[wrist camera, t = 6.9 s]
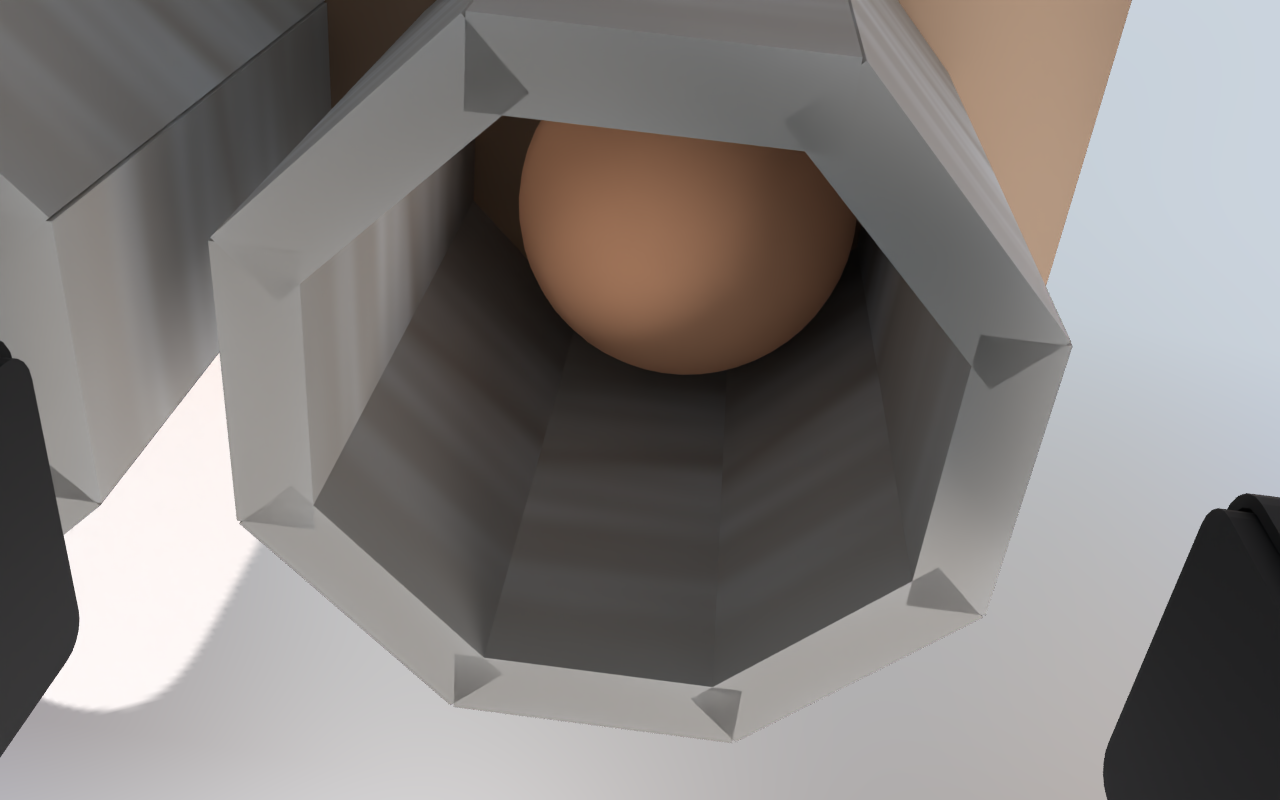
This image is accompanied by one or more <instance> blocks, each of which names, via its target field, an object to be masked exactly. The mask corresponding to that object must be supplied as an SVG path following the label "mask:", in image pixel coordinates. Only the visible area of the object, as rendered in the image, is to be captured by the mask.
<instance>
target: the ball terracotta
mask: <svg viewBox="0 0 1280 800" xmlns="http://www.w3.org/2000/svg"><path fill="white" fill-rule="evenodd" d="M856 219H857V218H856V217H855V215H854V214H853V213H852V211H851V210H850V209H849V208H848V206H847V205H846V204H845V202H844V201H843V200H842V199H841V197H840V196H839V195H838V193H837V192H836V191H835V190H834V188H833V187H832V186H831V184H830V183H829V182H828V180H827V179H826V178H825V177H824V175H823V174H822V173H821V171H820V170H819V169H818V168H817V166H816V165H815V164H814V162H813V161H812V160H811V159H810V157H809V156H808V155H807V153H806V152H805V151H797V150H789V149H781V148H772V147H764V146H755V145H747V144H739V143H730V142H722V141H713V140H705V139H697V138H688V137H680V136H671V135H663V134H655V133H646V132H638V131H629V130H621V129H613V128H604V127H596V126H587V125H579V124H570V123H562V122H554V121H545V120H541V121H540V123H539V125H538V127H537V128H536V130H535V133H534V135H533V137H532V140H531V142H530V145H529V147H528V150H527V154H526V158H525V161H524V165H523V169H522V176H521V184H520V193H519V220H520V226H521V232H522V238H523V243H524V249H525V252H526V255H527V258H528V261H529V264H530V267H531V269H532V271H533V274H534V276H535V278H536V280H537V282H538V284H539V286H540V288H541V290H542V291H543V293H544V295H545V296H546V298H547V299H548V301H549V302H550V304H551V305H552V307H553V308H554V310H555V311H556V312H557V313H558V314H559V315H560V316H561V318H562V319H563V320H564V321H565V322H566V323H567V324H568V325H569V326H570V327H571V328H572V329H573V330H574V331H575V332H576V333H578V334H579V335H580V336H581V337H582V338H583V339H585V340H586V341H587V342H588V343H590V344H591V345H593V346H594V347H596V348H597V349H599V350H601V351H602V352H604V353H606V354H608V355H610V356H612V357H614V358H616V359H618V360H620V361H622V362H625V363H627V364H630V365H633V366H636V367H639V368H642V369H645V370H650V371H655V372H660V373H667V374H678V375H693V374H706V373H713V372H720V371H724V370H728V369H732V368H736V367H739V366H741V365H744V364H747V363H750V362H752V361H755V360H757V359H759V358H761V357H763V356H765V355H767V354H769V353H771V352H772V351H774V350H776V349H777V348H779V347H780V346H782V345H783V344H785V343H786V342H788V341H789V340H790V339H791V338H793V337H794V336H795V335H796V334H797V333H799V332H800V331H801V330H802V329H803V328H804V327H805V326H806V325H807V324H808V323H809V322H810V321H811V320H812V319H813V318H814V317H815V316H816V314H817V313H818V312H819V310H820V309H821V308H822V306H823V305H824V304H825V302H826V301H827V300H828V298H829V297H830V295H831V293H832V292H833V290H834V288H835V286H836V285H837V283H838V281H839V279H840V277H841V275H842V273H843V270H844V268H845V265H846V263H847V261H848V257H849V254H850V250H851V246H852V243H853V238H854V234H855V227H856Z"/></svg>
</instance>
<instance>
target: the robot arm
mask: <svg viewBox="0 0 1280 800" xmlns="http://www.w3.org/2000/svg"><path fill="white" fill-rule="evenodd" d="M78 630H79V611H78V606H77V601H76V596H75V591H74V586H73V581H72V575H71V570H70V565H69V560H68V555H67V550H66V545H65V540H64V535H63V530H62V525H61V520H60V515H59V510H58V505H57V500H56V495H55V490H54V485H53V480H52V475H51V470H50V465H49V460H48V455H47V450H46V445H45V440H44V435H43V430H42V425H41V420H40V415H39V410H38V405H37V400H36V395H35V390H34V385H33V380H32V376H31V373H30V370H29V368H28V367H27V365H26V364H25V363H24V362H23V361H21V360H19V359H15V358H12V356H11V353H10V351H9V349H8V348H7V347H6V345H5V344H4V342H2V341H0V757H1V755H2V754H3V752H4V751H5V750H6V748H7V747H8V745H9V744H10V742H11V741H12V740H13V738H14V737H15V735H16V734H17V732H18V731H19V729H20V728H21V727H22V725H23V724H24V722H25V721H26V719H27V718H28V716H29V715H30V713H31V712H32V711H33V709H34V708H35V706H36V705H37V703H38V702H39V700H40V699H41V698H42V696H43V695H44V693H45V692H46V690H47V689H48V687H49V686H50V685H51V683H52V682H53V680H54V679H55V677H56V676H57V674H58V673H59V672H60V670H61V669H62V667H63V666H64V664H65V663H66V661H67V660H68V658H69V656H70V654H71V653H72V651H73V648H74V645H75V643H76V639H77V635H78ZM1103 777H1104V787H1105V792H1106V796H1107V800H1280V498H1279V497H1272V496H1264V495H1256V494H1247V493H1246V494H1243V495H1240V496H1238V497H1237V498H1236V499H1235V500H1234V501H1233V502H1232V503H1231V504H1230V505H1229V507H1228V509H1227V510H1226V509H1219V508H1218V509H1214V510H1212V511H1211V512H1210V513H1209V514H1207V515H1206V517H1205V519H1204V521H1203V522H1202V524H1201V527H1200V529H1199V531H1198V534H1197V536H1196V539H1195V541H1194V543H1193V545H1192V548H1191V550H1190V553H1189V555H1188V557H1187V559H1186V562H1185V564H1184V567H1183V569H1182V572H1181V574H1180V576H1179V579H1178V581H1177V583H1176V586H1175V588H1174V590H1173V593H1172V595H1171V597H1170V600H1169V602H1168V604H1167V607H1166V609H1165V611H1164V614H1163V616H1162V618H1161V621H1160V623H1159V626H1158V628H1157V630H1156V633H1155V635H1154V637H1153V639H1152V642H1151V644H1150V647H1149V649H1148V651H1147V654H1146V656H1145V658H1144V661H1143V663H1142V665H1141V668H1140V670H1139V672H1138V675H1137V677H1136V679H1135V682H1134V684H1133V687H1132V689H1131V692H1130V694H1129V696H1128V698H1127V701H1126V703H1125V705H1124V708H1123V710H1122V713H1121V715H1120V718H1119V719H1118V722H1117V724H1116V727H1115V729H1114V731H1113V734H1112V736H1111V738H1110V741H1109V743H1108V746H1107V749H1106V753H1105V758H1104V768H1103Z"/></svg>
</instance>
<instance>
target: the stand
mask: <svg viewBox="0 0 1280 800" xmlns="http://www.w3.org/2000/svg"><path fill="white" fill-rule="evenodd" d="M1131 1H1132V0H0V341H2V342H4V344H5V345H6V347H7V348H8V349H9V351H10V353H11V356H12V358H15V359H19V360H21V361H23V362H24V363H25V364H26V365H27V367H28V368H29V370H30V373H31V376H32V380H33V385H34V390H35V395H36V400H37V405H38V410H39V415H40V420H41V425H42V430H43V435H44V440H45V445H46V450H47V455H48V460H49V465H50V470H51V475H52V480H53V485H54V490H55V495H56V500H57V505H58V510H59V515H60V520H61V525H62V530H63V535H64V534H65V533H67V532H68V531H69V530H70V529H71V528H73V527H74V526H75V525H76V524H78V523H79V522H80V521H81V520H83V519H84V518H85V517H86V516H88V515H89V514H90V513H91V512H93V511H94V510H95V509H96V508H98V507H99V506H100V505H101V504H102V502H103V501H104V500H105V498H106V497H107V496H108V495H109V493H110V492H111V491H112V489H113V488H114V487H115V486H116V484H117V483H118V482H119V480H120V479H121V478H122V477H123V475H124V474H125V473H126V471H127V470H128V469H129V468H130V466H131V465H132V464H133V463H134V461H135V460H136V459H137V457H138V456H139V455H140V454H141V452H142V451H143V450H144V448H145V447H146V446H147V445H148V443H149V442H150V441H151V439H152V438H153V437H154V436H155V434H156V433H157V432H158V430H159V429H160V428H161V427H162V425H163V424H164V423H165V421H166V420H167V419H168V418H169V416H170V415H171V414H172V412H173V411H174V410H175V409H176V407H177V406H178V405H179V403H180V402H181V401H182V400H183V398H184V397H185V396H186V394H187V393H188V392H189V391H190V389H191V388H192V387H193V385H194V384H195V383H196V382H197V380H198V379H199V378H200V376H201V375H202V374H203V373H204V371H205V370H206V369H207V367H208V366H209V365H210V364H211V362H212V361H213V360H214V358H215V357H216V356H217V355H218V353H219V352H220V361H221V371H222V380H223V390H224V400H225V409H226V419H227V429H228V438H229V448H230V458H231V467H232V477H233V487H234V496H235V506H236V516H237V520H238V521H241V522H240V523H239V524H240V525H242V526H243V527H244V528H245V529H246V530H247V531H249V532H250V533H251V534H252V535H253V536H254V537H256V538H257V539H258V540H259V541H260V542H261V543H263V544H264V545H265V546H266V547H267V548H269V549H270V550H271V551H272V552H273V553H274V554H275V555H276V556H278V557H279V558H280V559H281V560H282V561H284V562H285V563H286V564H287V565H288V566H289V567H291V568H292V569H293V570H294V571H295V572H296V573H297V574H299V575H300V576H301V577H302V578H303V579H304V580H306V581H307V582H308V583H309V584H310V585H311V586H313V587H314V588H315V589H316V590H317V591H318V592H320V593H321V594H322V595H323V596H324V597H325V598H326V599H328V600H329V601H330V602H331V603H332V604H333V605H335V606H336V607H337V608H338V609H339V610H340V611H342V612H343V613H344V614H345V615H346V616H347V617H349V618H350V619H351V620H352V621H353V622H354V623H356V624H357V625H358V626H359V627H360V628H361V629H363V630H364V631H365V632H366V633H367V634H368V635H369V636H371V637H372V638H373V639H374V640H375V641H376V642H378V643H379V644H380V645H381V646H382V647H383V648H385V649H386V650H387V651H388V652H389V653H390V654H392V655H393V656H394V657H395V658H396V659H397V660H399V661H400V662H401V663H402V664H404V665H405V666H406V667H407V668H408V669H409V670H410V671H411V672H413V673H414V674H415V675H416V676H417V677H418V678H419V679H421V680H422V681H423V682H424V683H425V684H426V685H428V686H429V687H430V688H431V689H432V690H433V691H435V692H436V693H437V694H438V695H439V696H440V697H441V698H443V699H444V700H445V701H446V702H447V703H448V704H450V705H452V704H453V703H454V707H459V708H465V709H473V710H481V711H489V712H497V713H504V714H511V715H519V716H527V717H535V718H543V719H550V720H558V721H565V722H573V723H581V724H588V725H596V726H604V727H611V728H620V729H627V730H634V731H642V732H650V733H658V734H666V735H674V736H680V737H688V738H696V739H704V740H711V741H719V742H727V743H732V740H734V741H735V742H737V741H739V740H741V739H743V738H745V737H747V736H749V735H751V734H753V733H755V732H757V731H759V730H761V729H763V728H765V727H767V726H769V725H771V724H773V723H775V722H777V721H779V720H781V719H782V718H785V717H787V716H789V715H791V714H793V713H795V712H797V711H799V710H801V709H803V708H805V707H807V706H809V705H811V704H813V703H815V702H817V701H819V700H820V699H822V698H825V697H826V696H829V695H831V694H833V693H834V692H837V691H839V690H840V689H842V688H844V687H846V686H848V685H850V684H852V683H854V682H856V681H858V680H860V679H862V678H864V677H866V676H868V675H870V674H872V673H874V672H876V671H878V670H880V669H882V668H884V667H886V666H888V665H890V664H892V663H894V662H896V661H898V660H900V659H902V658H904V657H906V656H908V655H910V654H912V653H914V652H916V651H918V650H920V649H922V648H924V647H926V646H928V645H930V644H932V643H934V642H936V641H938V640H940V639H942V638H944V637H946V636H948V635H950V634H952V633H954V632H956V631H958V630H960V629H962V628H964V627H966V626H968V625H969V624H972V623H973V622H976V621H978V620H980V619H982V615H986V612H987V609H988V606H989V603H990V600H991V597H992V594H993V591H994V588H995V584H996V581H997V578H998V575H999V572H1000V569H1001V566H1002V563H1003V560H1004V557H1005V554H1006V551H1007V547H1008V544H1009V541H1010V538H1011V535H1012V532H1013V529H1014V526H1015V523H1016V519H1017V516H1018V513H1019V510H1020V507H1021V504H1022V501H1023V498H1024V494H1025V492H1026V489H1027V485H1028V482H1029V479H1030V476H1031V473H1032V470H1033V467H1034V464H1035V461H1036V458H1037V454H1038V451H1039V448H1040V445H1041V442H1042V439H1043V436H1044V433H1045V430H1046V426H1047V423H1048V420H1049V417H1050V414H1051V411H1052V408H1053V405H1054V402H1055V399H1056V395H1057V392H1058V389H1059V386H1060V383H1061V380H1062V377H1063V374H1064V371H1065V368H1066V365H1067V361H1068V358H1069V355H1070V352H1071V349H1072V344H1071V341H1070V338H1069V336H1068V334H1067V332H1066V330H1065V328H1064V325H1063V323H1062V321H1061V319H1060V317H1059V314H1058V312H1057V310H1056V308H1055V306H1054V304H1053V301H1052V299H1051V297H1050V295H1049V293H1048V290H1047V288H1046V284H1047V280H1048V277H1049V274H1050V271H1051V268H1052V264H1053V261H1054V257H1055V254H1056V251H1057V248H1058V244H1059V241H1060V238H1061V234H1062V231H1063V228H1064V224H1065V221H1066V218H1067V214H1068V211H1069V207H1070V204H1071V201H1072V198H1073V194H1074V191H1075V188H1076V184H1077V181H1078V178H1079V174H1080V171H1081V168H1082V164H1083V161H1084V158H1085V154H1086V151H1087V148H1088V144H1089V141H1090V138H1091V134H1092V131H1093V128H1094V124H1095V121H1096V118H1097V115H1098V111H1099V108H1100V105H1101V101H1102V98H1103V95H1104V91H1105V88H1106V85H1107V81H1108V78H1109V75H1110V71H1111V68H1112V65H1113V61H1114V58H1115V55H1116V51H1117V48H1118V45H1119V41H1120V38H1121V34H1122V31H1123V28H1124V24H1125V21H1126V18H1127V14H1128V11H1129V8H1130V5H1131ZM541 120H545V121H554V122H562V123H570V124H579V125H587V126H596V127H604V128H613V129H621V130H629V131H638V132H646V133H655V134H663V135H671V136H680V137H688V138H697V139H705V140H713V141H722V142H730V143H739V144H747V145H755V146H764V147H772V148H781V149H789V150H797V151H805V152H806V153H807V155H808V156H809V157H810V159H811V160H812V161H813V162H814V164H815V165H816V166H817V168H818V169H819V170H820V171H821V173H822V174H823V175H824V177H825V178H826V179H827V180H828V182H829V183H830V184H831V186H832V187H833V188H834V190H835V191H836V192H837V193H838V195H839V196H840V197H841V199H842V200H843V201H844V202H845V204H846V205H847V206H848V208H849V209H850V210H851V211H852V213H853V214H854V215H855V217H856V218H857V219H856V227H855V234H854V238H853V243H852V246H851V250H850V254H849V257H848V261H847V263H846V265H845V268H844V270H843V273H842V275H841V277H840V279H839V281H838V283H837V285H836V286H835V288H834V290H833V292H832V293H831V295H830V297H829V298H828V300H827V301H826V302H825V304H824V305H823V306H822V308H821V309H820V310H819V312H818V313H817V314H816V316H815V317H814V318H813V319H812V320H811V321H810V322H809V323H808V324H807V325H806V326H805V327H804V328H803V329H802V330H801V331H800V332H799V333H797V334H796V335H795V336H794V337H793V338H791V339H790V340H789V341H788V342H786V343H785V344H783V345H782V346H780V347H779V348H777V349H776V350H774V351H772V352H771V353H769V354H767V355H765V356H763V357H761V358H759V359H757V360H755V361H752V362H750V363H747V364H744V365H741V366H739V367H736V368H732V369H728V370H724V371H720V372H713V373H706V374H693V375H678V374H667V373H660V372H655V371H650V370H645V369H642V368H639V367H636V366H633V365H630V364H627V363H625V362H622V361H620V360H618V359H616V358H614V357H612V356H610V355H608V354H606V353H604V352H602V351H601V350H599V349H597V348H596V347H594V346H593V345H591V344H590V343H588V342H587V341H586V340H585V339H583V338H582V337H581V336H580V335H579V334H578V333H576V332H575V331H574V330H573V329H572V328H571V327H570V326H569V325H568V324H567V323H566V322H565V321H564V320H563V319H562V318H561V316H560V315H559V314H558V313H557V312H556V311H555V310H554V308H553V307H552V305H551V304H550V302H549V301H548V299H547V298H546V296H545V295H544V293H543V291H542V290H541V288H540V286H539V284H538V282H537V280H536V278H535V276H534V274H533V271H532V269H531V267H530V264H529V261H528V258H527V255H526V252H525V249H524V243H523V238H522V232H521V226H520V220H519V193H520V184H521V176H522V169H523V165H524V161H525V158H526V154H527V150H528V147H529V145H530V142H531V140H532V137H533V135H534V133H535V130H536V128H537V127H538V125H539V123H540V121H541Z"/></svg>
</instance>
